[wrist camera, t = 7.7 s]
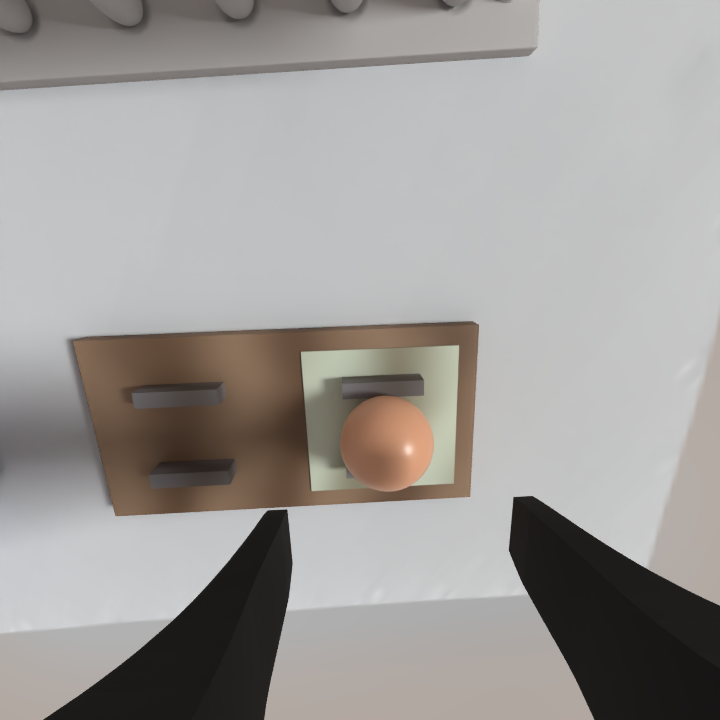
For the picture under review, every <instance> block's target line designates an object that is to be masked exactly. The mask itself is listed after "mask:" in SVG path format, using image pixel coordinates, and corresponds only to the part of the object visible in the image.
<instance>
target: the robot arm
mask: <svg viewBox="0 0 720 720" xmlns="http://www.w3.org/2000/svg"><path fill="white" fill-rule="evenodd" d="M509 552H510V554H511V557H512V559H513V562H514V564H515V567H516V569H517V572H518V574H519V576H520V579H521V581H522V583H523V585H524V587H525V589H526V591H527V592H528V594H529V596H530V598H531V599H532V601H533V603H534V605H535V607H536V608H537V610H538V612H539V614H540V616H541V617H542V619H543V621H544V623H545V624H546V626H547V628H548V630H549V632H550V633H551V635H552V637H553V639H554V640H555V642H556V644H557V646H558V647H559V649H560V651H561V653H562V654H563V656H564V658H565V660H566V661H567V663H568V665H569V667H570V669H571V671H572V673H573V675H574V677H575V679H576V681H577V683H578V685H579V687H580V689H581V691H582V694H583V696H584V698H585V700H586V702H587V705H588V707H589V709H590V711H591V713H592V715H593V717H594V720H720V606H719V605H717V604H715V603H713V602H710V601H708V600H706V599H704V598H702V597H700V596H698V595H695V594H694V593H691V592H690V591H687V590H686V589H684V588H682V587H680V586H678V585H676V584H674V583H672V582H670V581H668V580H666V579H665V578H663V577H661V576H658V575H657V574H655V573H653V572H651V571H650V570H648V569H646V568H644V567H643V566H641V565H639V564H637V563H636V562H634V561H632V560H631V559H629V558H627V557H626V556H624V555H622V554H621V553H619V552H617V551H616V550H614V549H612V548H611V547H609V546H608V545H606V544H604V543H603V542H601V541H600V540H598V539H597V538H595V537H593V536H592V535H590V534H589V533H587V532H586V531H584V530H583V529H581V528H580V527H578V526H577V525H575V524H574V523H572V522H571V521H569V520H568V519H567V518H565V517H564V516H562V515H561V514H559V513H558V512H556V511H555V510H553V509H552V508H550V507H549V506H547V505H546V504H544V503H543V502H541V501H540V500H538V499H536V498H535V497H533V496H526V497H514V499H513V510H512V521H511V533H510V544H509ZM291 573H292V553H291V543H290V533H289V523H288V512H287V510H269V511H267V512H266V513H265V514H264V515H263V517H262V518H261V519H260V521H259V522H258V524H257V525H256V526H255V528H254V529H253V531H252V532H251V533H250V535H249V536H248V537H247V539H246V540H245V541H244V543H243V544H242V545H241V546H240V548H239V549H238V550H237V551H236V553H235V554H234V555H233V556H232V558H231V559H230V560H229V561H228V563H227V564H226V565H225V566H224V567H223V568H222V570H221V571H220V572H219V573H218V574H217V575H216V576H215V578H214V579H213V580H212V581H211V582H210V583H209V584H208V586H207V587H206V588H205V589H204V590H203V591H202V592H201V593H200V594H199V595H198V596H197V597H196V598H195V599H194V600H193V601H192V602H191V603H190V604H189V605H188V606H187V607H186V608H185V609H184V610H183V611H182V612H181V613H180V614H179V615H178V616H177V617H176V618H175V619H174V620H173V621H172V622H171V623H170V624H168V625H167V626H166V627H165V628H164V629H163V630H162V631H161V632H159V634H157V635H156V636H155V637H154V638H152V639H151V640H150V641H149V642H148V643H147V644H146V645H145V646H143V647H142V648H141V649H140V650H139V651H137V652H136V653H135V654H134V655H132V656H131V657H130V658H129V659H127V660H126V661H125V662H124V663H122V664H121V665H120V666H118V667H117V668H116V669H114V670H113V671H112V672H110V673H109V674H108V675H106V676H105V677H104V678H103V679H101V680H100V681H98V682H97V683H96V684H94V685H93V686H92V687H90V688H89V689H87V690H86V691H85V692H83V693H82V694H80V695H79V696H78V697H76V698H75V699H73V700H72V701H70V702H69V703H67V704H66V705H64V706H63V707H61V708H60V709H58V710H57V711H56V712H54V713H53V714H51V715H50V716H48V717H47V718H45V719H44V720H264V716H265V709H266V702H267V697H268V691H269V686H270V681H271V676H272V672H273V667H274V662H275V657H276V653H277V649H278V644H279V640H280V636H281V631H282V626H283V622H284V617H285V613H286V608H287V603H288V599H289V591H290V582H291Z"/></svg>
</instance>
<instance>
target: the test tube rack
mask: <svg viewBox="0 0 720 720" xmlns="http://www.w3.org/2000/svg"><path fill="white" fill-rule="evenodd" d="M539 6H540V0H0V90H13V89H28V88H43V87H58V86H73V85H89V84H104V83H119V82H135V81H150V80H166V79H181V78H196V77H212V76H227V75H242V74H258V73H273V72H288V71H304V70H319V69H334V68H350V67H365V66H380V65H396V64H411V63H426V62H442V61H457V60H473V59H489V58H505V57H520V56H529V55H531V54H532V52H533V51H534V50H535V49H536V48H537V46H538V27H539Z"/></svg>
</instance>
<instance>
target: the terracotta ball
mask: <svg viewBox="0 0 720 720" xmlns="http://www.w3.org/2000/svg"><path fill="white" fill-rule="evenodd" d="M340 449H341V455H342V458H343V461H344V463H345V465H346V467H347V469H348V470H349V472H350V473H351V474H352V476H353V477H354V478H355V479H356V480H358V481H359V482H360V483H362V484H363V485H365V486H367V487H369V488H371V489H374V490H378V491H385V492H391V491H398V490H402V489H404V488H407V487H409V486H411V485H412V484H414V483H415V482H416V481H418V480H419V479H420V478H421V477H422V476H423V474H424V473H425V472H426V470H427V468H428V467H429V465H430V462H431V460H432V456H433V451H434V437H433V432H432V429H431V426H430V424H429V422H428V420H427V418H426V417H425V415H424V414H423V413H422V411H421V410H420V409H419V408H417V407H416V406H415V405H414V404H412V403H411V402H409V401H407V400H405V399H402V398H399V397H395V396H377V397H373V398H370V399H368V400H366V401H364V402H362V403H361V404H359V405H358V406H357V407H356V408H354V409H353V410H352V412H351V413H350V414H349V416H348V417H347V419H346V421H345V423H344V425H343V428H342V431H341V437H340Z"/></svg>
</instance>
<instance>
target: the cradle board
mask: <svg viewBox="0 0 720 720" xmlns="http://www.w3.org/2000/svg"><path fill="white" fill-rule="evenodd" d="M478 334H479V325H478V324H476V323H474V322H448V323H423V324H398V325H373V326H348V327H323V328H299V329H274V330H249V331H224V332H199V333H174V334H149V335H124V336H99V337H85V338H82V339H78V340H75V341H73V344H74V349H75V353H76V357H77V361H78V365H79V369H80V373H81V377H82V381H83V385H84V389H85V393H86V398H87V402H88V406H89V410H90V414H91V418H92V422H93V426H94V430H95V434H96V438H97V442H98V447H99V451H100V455H101V459H102V463H103V467H104V471H105V475H106V479H107V483H108V487H109V491H110V496H111V500H112V504H113V508H114V512H115V516H128V515H147V514H165V513H183V512H201V511H220V510H238V509H256V508H275V507H293V506H311V505H329V504H348V503H366V502H384V501H403V500H421V499H439V498H457V497H470V487H471V468H472V449H473V430H474V410H475V391H476V372H477V353H478ZM377 396H395V397H399V398H402V399H405V400H407V401H409V402H411V403H412V404H414V405H415V406H416V407H417V408H419V409H420V410H421V411H422V413H423V414H424V415H425V417H426V418H427V420H428V422H429V424H430V426H431V429H432V432H433V437H434V451H433V456H432V460H431V462H430V465H429V467H428V468H427V470H426V472H425V473H424V474H423V476H422V477H421V478H420V479H419V480H418V481H416V482H415V483H414V484H412V485H411V486H409V487H407V488H404V489H402V490H398V491H391V492H385V491H378V490H374V489H371V488H369V487H367V486H365V485H363V484H362V483H360V482H359V481H358V480H356V479H355V478H354V477H353V476H352V474H351V473H350V472H349V470H348V469H347V467H346V465H345V463H344V461H343V458H342V455H341V449H340V437H341V431H342V428H343V425H344V423H345V421H346V419H347V417H348V416H349V414H350V413H351V412H352V410H353V409H354V408H356V407H357V406H358V405H359V404H361V403H362V402H364V401H366V400H368V399H370V398H373V397H377Z"/></svg>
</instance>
